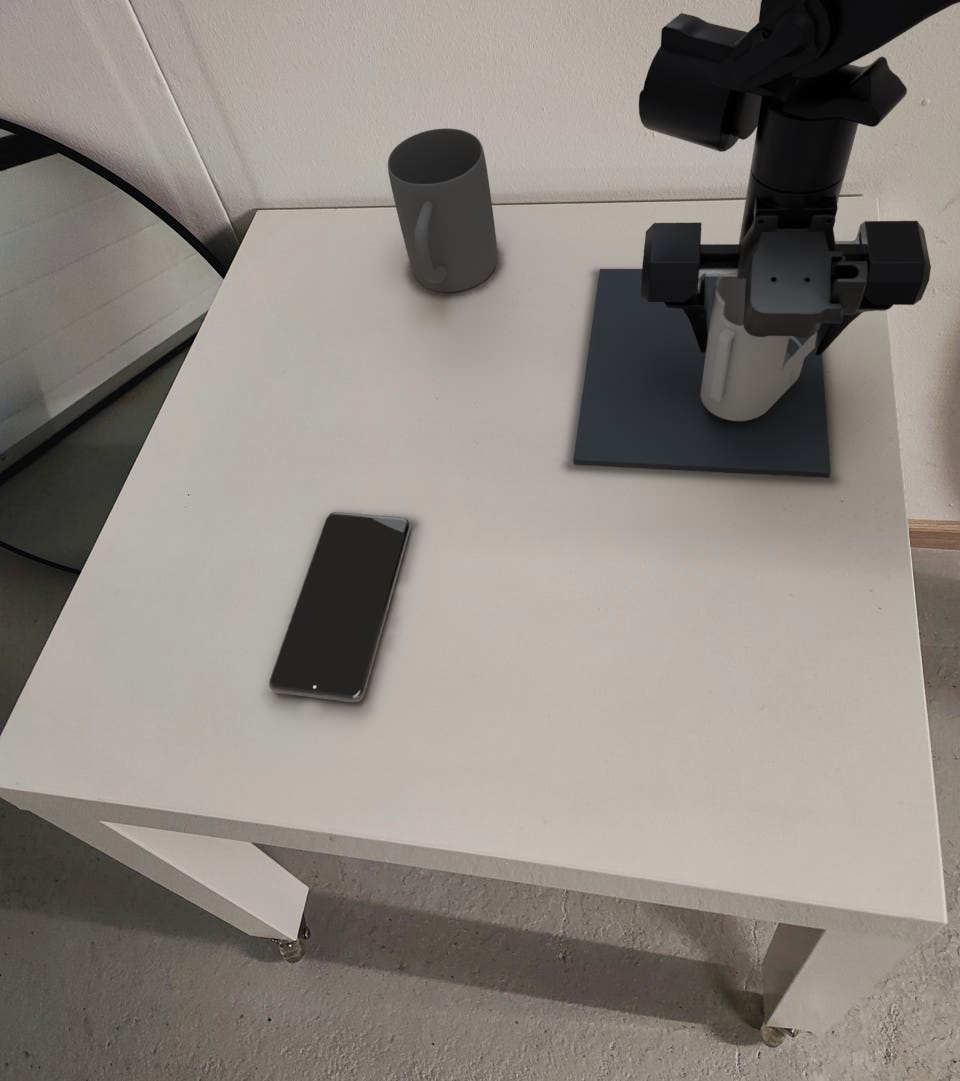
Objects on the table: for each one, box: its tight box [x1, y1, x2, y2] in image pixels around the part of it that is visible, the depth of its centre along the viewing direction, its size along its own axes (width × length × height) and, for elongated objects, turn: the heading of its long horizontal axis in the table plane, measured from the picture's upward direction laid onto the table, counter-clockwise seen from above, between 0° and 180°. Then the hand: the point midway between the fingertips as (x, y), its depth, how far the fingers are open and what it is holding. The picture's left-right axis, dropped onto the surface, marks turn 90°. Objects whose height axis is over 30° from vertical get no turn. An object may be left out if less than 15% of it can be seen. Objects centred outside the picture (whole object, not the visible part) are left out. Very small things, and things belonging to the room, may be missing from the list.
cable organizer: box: [701, 273, 835, 421], centre depth 64 cm, size 7×12×12 cm, turn 136°
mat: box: [573, 268, 832, 478], centre depth 71 cm, size 20×24×1 cm
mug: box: [387, 127, 498, 293], centre depth 77 cm, size 14×9×12 cm
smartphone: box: [268, 511, 412, 703], centre depth 62 cm, size 7×1×16 cm
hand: (759, 350), depth 64 cm, fingers open, 8 cm apart
